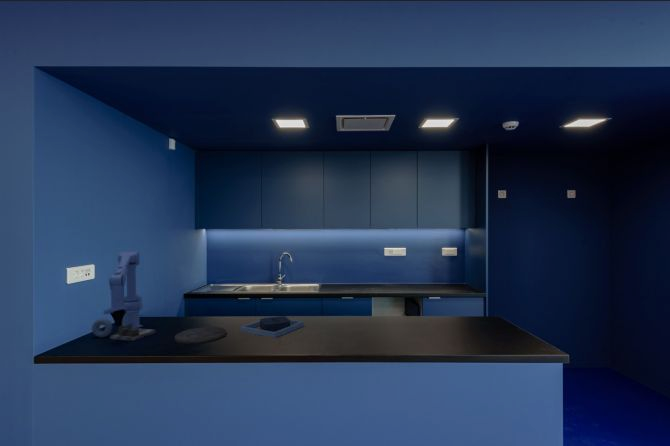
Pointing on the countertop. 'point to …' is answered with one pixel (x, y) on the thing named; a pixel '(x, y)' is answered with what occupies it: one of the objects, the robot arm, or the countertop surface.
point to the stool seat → (131, 338)
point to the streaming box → (274, 323)
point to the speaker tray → (250, 329)
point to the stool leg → (128, 331)
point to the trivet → (200, 335)
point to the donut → (97, 330)
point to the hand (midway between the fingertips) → (118, 325)
